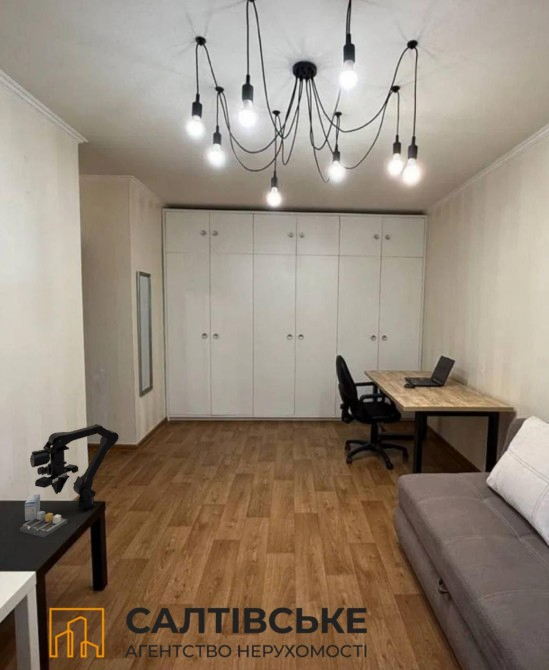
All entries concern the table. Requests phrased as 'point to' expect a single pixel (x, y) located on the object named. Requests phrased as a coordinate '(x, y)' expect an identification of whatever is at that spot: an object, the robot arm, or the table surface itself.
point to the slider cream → (56, 519)
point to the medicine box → (32, 507)
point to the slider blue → (40, 515)
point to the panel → (41, 527)
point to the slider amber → (48, 517)
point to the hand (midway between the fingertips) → (58, 493)
